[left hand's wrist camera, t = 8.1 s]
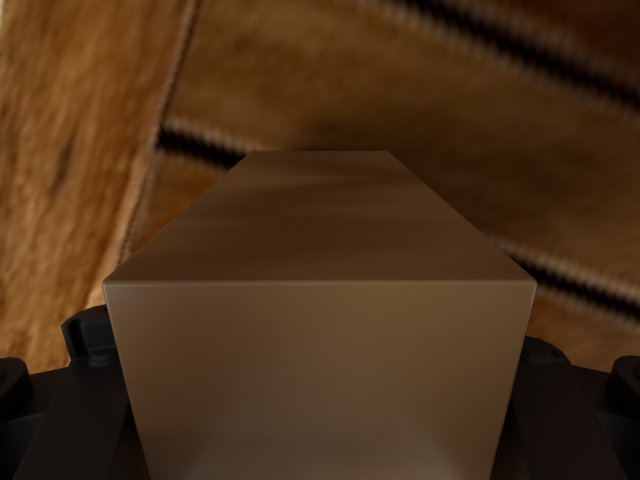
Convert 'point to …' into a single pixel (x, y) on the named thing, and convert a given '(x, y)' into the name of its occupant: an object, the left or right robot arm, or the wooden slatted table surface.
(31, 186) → the wooden slatted table surface
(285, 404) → the block
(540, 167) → the wooden slatted table surface
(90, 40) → the wooden slatted table surface
